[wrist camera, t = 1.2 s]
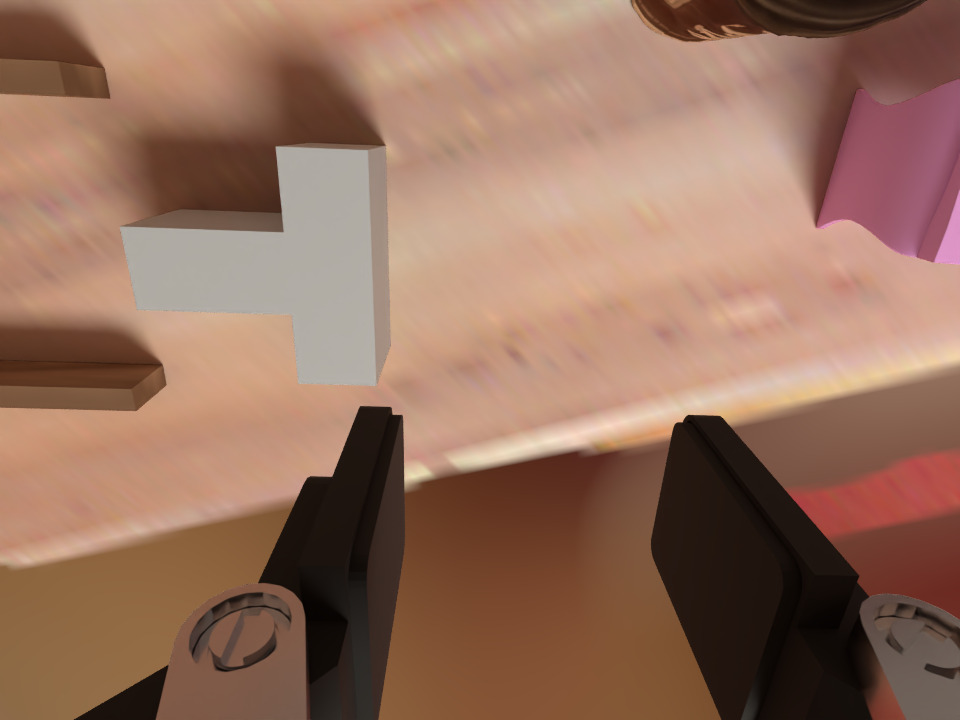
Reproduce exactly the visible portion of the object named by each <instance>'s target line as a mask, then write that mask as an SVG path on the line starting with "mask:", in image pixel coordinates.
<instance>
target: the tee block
mask: <svg viewBox="0 0 960 720" xmlns="http://www.w3.org/2000/svg"><path fill="white" fill-rule="evenodd" d="M276 156H277V166H278V177H279V187H280V197H281V208H282V213H270V212H243V211H216V210H189V209H178V210H175V211H171V212H168V213H165V214H161V215H158V216H154V217H151V218H147V219H144V220H140V221H137V222H134V223H130V224H127V225H123V226H120V230H121V235H122V239H123V244H124V249H125V254H126V259H127V264H128V268H129V273H130V278H131V283H132V288H133V292H134V297H135V302H136V307H137V310H150V311H182V312H214V313H245V314H277V315H292V323H293V333H294V344H295V354H296V365H297V375H298V384H329V385H365V386H376V385H377V383H378V380H379V377H380V374H381V371H382V368H383V366H384V363H385V360H386V357H387V354H388V352H389V349H390V346H391V339H390V298H389V257H388V215H387V174H386V146H380V145H356V144H332V143H302V144H293V145H284V146H276Z"/></svg>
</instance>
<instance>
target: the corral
mask: <svg viewBox="0 0 960 720" xmlns="http://www.w3.org/2000/svg"><path fill="white" fill-rule="evenodd" d="M0 94H16V95H39V96H62V97H85V98H108V99H110V95H109V90H108V85H107V79H106V74H105V69H104V68H98V67H92V66H85V65H79V64H72V63H66V62H60V61H42V60H19V59H0ZM165 386H166V380H165V375H164V370H163V365H146V364H111V363H77V362H42V361H7V360H0V407H2V408H40V409H78V410H116V411H137V410H138V409H139V408H140V407H142V406H143V405H144V404H145V403H146V402H147V401H149V400H150V399H151V398H152V397H153V396H154V395H156V394H157V393H158V392H159V391H160V390H161V389H163V388H164V387H165Z"/></svg>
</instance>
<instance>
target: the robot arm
mask: <svg viewBox="0 0 960 720" xmlns="http://www.w3.org/2000/svg"><path fill="white" fill-rule="evenodd" d="M404 505H405V504H404V439H403V416H402V415H392V408H391V407H372V406H360V408H359V410H358V412H357V415H356V418H355V420H354V423H353V425H352V428H351V430H350V433H349V435H348V438H347V441H346V443H345V446H344V448H343V451H342V453H341V456H340V459H339V461H338V464H337V466H336V469H335V471H334V474H333V476H332V477H316V476H310V477H308V478H307V480H306V481H305V483H304V485H303V487H302V489H301V491H300V493H299V496H298V498H297V500H296V502H295V504H294V506H293V508H292V511H291V513H290V515H289V517H288V519H287V521H286V524H285V526H284V528H283V530H282V532H281V535H280V537H279V539H278V541H277V543H276V545H275V548H274V550H273V552H272V554H271V557H270V558H269V561H268V563H267V565H266V567H265V569H264V571H263V573H262V576H261V578H260V580H259V582H258V584H246V585H242V586H239V587H235V588H231V589H228V590H226V591H224V592H222V593H220V594H218V595H216V596H214V597H212V598H210V599H209V600H207V601H206V602H205V603H203V604H202V605H201V606H199V607H198V608H197V609H196V610H194V611H193V612H192V614H191V615H190V616H189V617H188V618H187V620H186V621H185V622H184V623H183V624H182V626H181V628H180V630H179V632H178V635H177V637H176V639H175V642H174V646H173V650H172V654H171V658H170V662H169V665H167V666H166V667H164V668H162V669H160V670H159V671H157V672H155V673H154V674H152V675H151V676H149V677H147V678H145V679H143V680H141V681H140V682H138V683H136V684H135V685H133V686H131V687H130V688H128V689H126V690H124V691H123V692H121V693H119V694H117V695H116V696H114V697H112V698H110V699H109V700H107V701H105V702H104V703H102V704H100V705H98V706H97V707H95V708H93V709H92V710H90V711H88V712H86V713H85V714H83V715H81V716H79V717H78V718H76V719H74V720H378V718H379V711H380V705H381V698H382V692H383V685H384V679H385V672H386V666H387V659H388V653H389V646H390V640H391V633H392V627H393V620H394V613H395V607H396V601H397V594H398V588H399V581H400V575H401V568H402V561H403V555H404V545H405V506H404ZM651 550H652V556H653V559H654V562H655V564H656V566H657V569H658V571H659V573H660V576H661V578H662V581H663V583H664V585H665V587H666V590H667V592H668V594H669V597H670V599H671V602H672V604H673V606H674V609H675V611H676V614H677V616H678V618H679V621H680V623H681V625H682V628H683V630H684V632H685V635H686V637H687V639H688V642H689V644H690V647H691V649H692V651H693V653H694V656H695V658H696V661H697V663H698V665H699V668H700V670H701V672H702V675H703V677H704V680H705V682H706V684H707V687H708V689H709V691H710V694H711V696H712V698H713V701H714V703H715V705H716V708H717V710H718V713H719V715H720V717H721V720H960V620H959V619H957V618H956V617H954V616H952V615H951V614H949V613H947V612H946V611H944V610H942V609H940V608H937V607H935V606H933V605H931V604H928V603H926V602H924V601H921V600H917V599H914V598H910V597H907V596H903V595H893V594H880V595H874V596H871V597H869V596H868V595H867V594H866V592H865V591H864V590H863V589H862V588H861V586H860V585H859V584H858V583H857V580H858V578H859V575H858V574H857V573H856V571H855V570H854V569H853V568H852V567H851V566H850V564H849V563H848V562H847V561H846V560H845V559H844V557H843V556H842V555H841V554H840V553H839V552H838V551H837V549H836V548H835V547H834V546H833V545H832V544H831V542H830V541H829V540H828V539H827V538H826V537H825V536H824V534H823V533H822V532H821V531H820V530H819V529H818V527H817V526H816V525H815V524H814V523H813V522H812V521H811V519H810V518H809V517H808V516H807V515H806V514H805V512H804V511H803V510H802V509H801V508H800V507H799V506H798V504H797V503H796V502H795V501H794V500H793V499H792V497H791V496H790V495H789V494H788V493H787V492H786V491H785V489H784V488H783V487H782V486H781V485H780V484H779V482H778V481H777V480H776V479H775V478H774V477H773V476H772V474H771V473H770V472H769V471H768V470H767V469H766V467H765V466H764V465H763V464H762V463H761V462H760V461H759V459H758V458H757V457H756V456H755V455H754V454H753V452H752V451H751V450H750V449H749V448H748V447H747V445H746V444H745V443H744V442H743V441H742V440H741V439H740V437H738V435H737V434H736V433H735V432H734V431H733V429H732V428H731V427H730V426H729V425H728V424H727V422H726V421H725V420H724V419H723V418H722V417H721V416H706V415H688V416H686V417H685V419H684V421H683V423H680V422H677V423H676V424H675V426H674V428H673V432H672V437H671V442H670V447H669V452H668V457H667V462H666V467H665V472H664V477H663V482H662V487H661V493H660V498H659V502H658V508H657V513H656V518H655V523H654V528H653V533H652V539H651Z"/></svg>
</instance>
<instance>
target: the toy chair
mask: <svg viewBox="0 0 960 720" xmlns="http://www.w3.org/2000/svg"><path fill="white" fill-rule="evenodd" d="M843 220H852V221H854V222H856V223H858V224H860V225H862V226H863V227H864V228H866V229H867V230H869V231H870V232H871V233H872V234H873V235H875V236H876V237H877V238H878V239H879V240H880V241H882V242H883V243H884V244H885V245H886V246H887V247H889V248H891V249H892V250H894V251H895V252H898V253H900V254H902V255H906V256H911V257H917V258H920V259H923V260H927V261H930V262H934V263H948V264H960V79H956V80H953V81H950V82H948V83H945V84H943V85H940V86H938V87H936V88H934V89H932V90H929V91H927V92H925V93H923V94H921V95H918V96H916V97H914V98H911V99H909V100H906V101H904V102H901V103H898V104H893V105H889V106H887V105H882V104H880V103H878V102H876V101H875V100H874V99H873V98H872V97H871V96H870V95H869V93H868V92H867V91H866V90H865V89H858V90H857V91H856V94H855V97H854V101H853V104H852V107H851V111H850V114H849V117H848V121H847V124H846V127H845V131H844V134H843V138H842V141H841V144H840V148H839V151H838V154H837V158H836V161H835V164H834V168H833V171H832V175H831V178H830V181H829V185H828V188H827V191H826V195H825V198H824V201H823V205H822V208H821V211H820V215H819V218H818V222H817V225H816V228H817V229H824V228H826V227H828V226H830V225H832V224H834V223H836V222H839V221H843Z"/></svg>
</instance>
